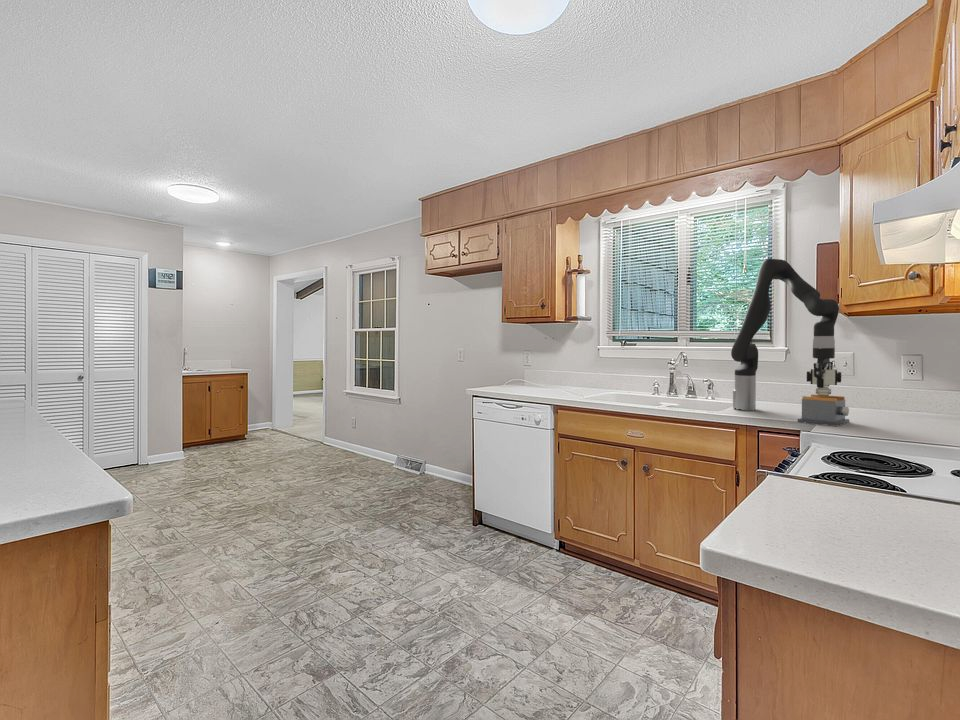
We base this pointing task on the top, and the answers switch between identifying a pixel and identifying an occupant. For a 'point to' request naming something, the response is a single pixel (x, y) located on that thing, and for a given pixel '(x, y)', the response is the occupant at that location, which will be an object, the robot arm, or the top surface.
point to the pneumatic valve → (825, 380)
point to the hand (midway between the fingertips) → (823, 386)
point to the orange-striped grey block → (824, 410)
